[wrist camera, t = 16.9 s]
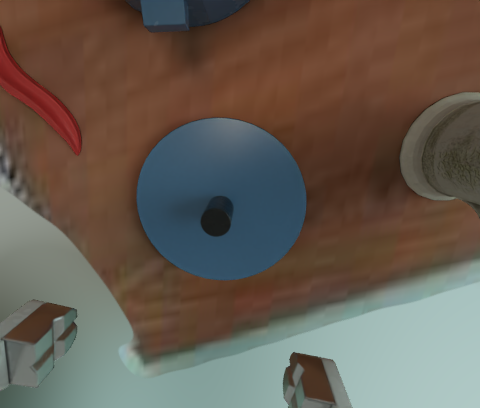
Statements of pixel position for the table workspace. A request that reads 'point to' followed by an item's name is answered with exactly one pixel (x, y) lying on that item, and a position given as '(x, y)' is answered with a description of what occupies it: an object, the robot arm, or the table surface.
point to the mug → (445, 151)
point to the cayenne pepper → (38, 98)
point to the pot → (183, 13)
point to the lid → (221, 198)
